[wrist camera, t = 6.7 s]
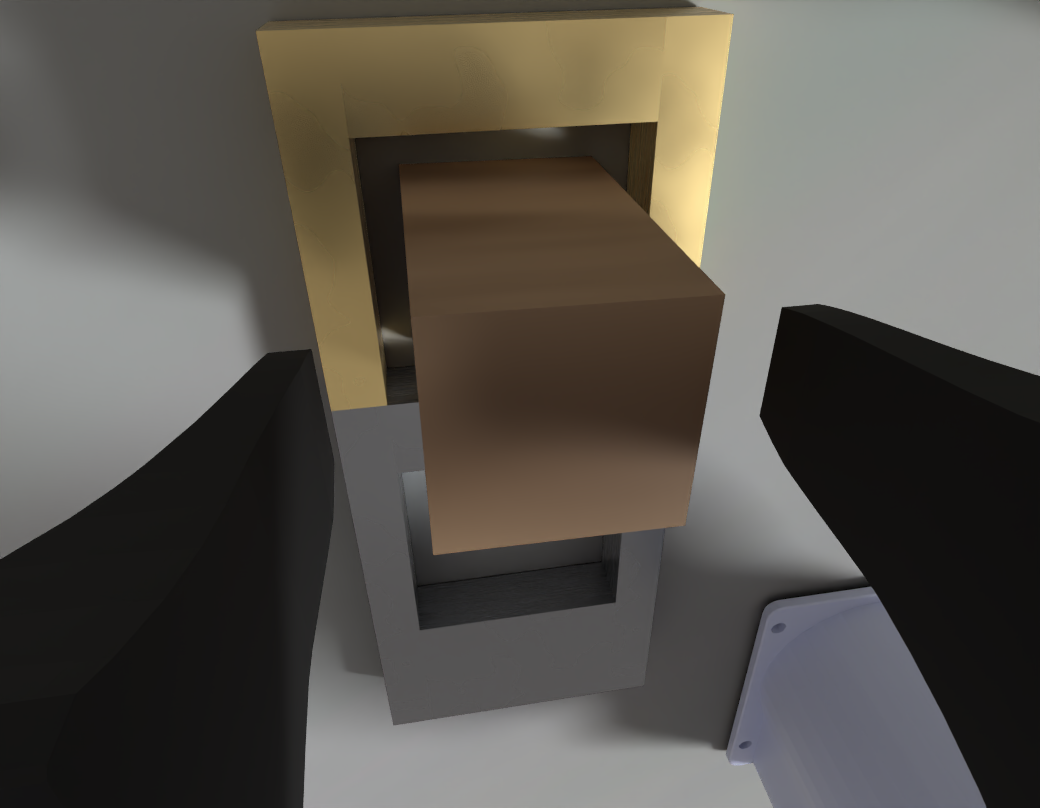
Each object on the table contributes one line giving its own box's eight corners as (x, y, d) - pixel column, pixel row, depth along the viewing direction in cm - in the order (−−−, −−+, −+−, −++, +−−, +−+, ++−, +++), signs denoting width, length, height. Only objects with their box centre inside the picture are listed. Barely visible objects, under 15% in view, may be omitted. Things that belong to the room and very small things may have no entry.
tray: (630, 644, 24) (644, 685, 23) (392, 680, 23) (393, 725, 22) (699, 6, 14) (733, 14, 12) (268, 21, 13) (256, 31, 11)
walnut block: (582, 326, 17) (685, 525, 11) (415, 339, 16) (433, 554, 11) (591, 155, 15) (725, 294, 9) (398, 163, 14) (411, 316, 8)
